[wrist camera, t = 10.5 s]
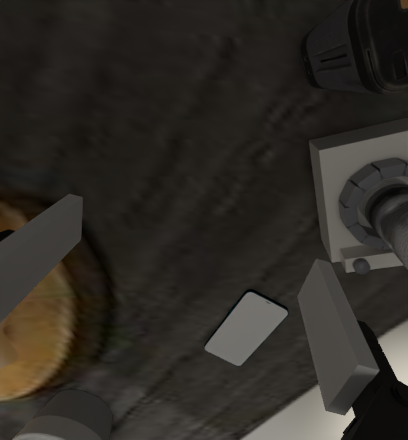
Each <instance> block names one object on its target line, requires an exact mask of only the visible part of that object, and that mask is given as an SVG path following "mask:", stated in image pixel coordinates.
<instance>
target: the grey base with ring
mask: <svg viewBox="0 0 408 440" xmlns="http://www.w3.org/2000/svg"><path fill="white" fill-rule="evenodd" d="M309 147H310V155H311V162H312V170H313V178H314V186H315V193H316V201H317V209H318V217H319V224H320V232H321V239H322V242H323V244H324V246H325V248H326V250H327V253H328V255H329V257H330V259H331V261H332V262H339V261H341V263H342V265H343V267H344V269H345V271H346V273H348V272H355V271H356V273H358V274H365V273H367V272H369V270H370V269H378V268H385V267H393V266H401V265H403V264H402V262H401V261H400V260H399V259H398V257H397V256H396V255H395V254H394V253H393V251H392V250H391V249H390V248H389V247H388V245H387V244H386V243H385V242H384V240H383V239H382V238H381V237H380V236H379V235H378V234H377V233H376V232H375V230H374V229H373V228H372V227H371V226H370V224H369V223H368V222H367V220H366V219H365V217H364V216H363V215H362V214H361V212H360V210H359V207H358V205H359V203H360V202H361V200H362V198H363V196H364V194H365V192H366V191H368V190H369V189H370V188H372V187H373V186H375V185H376V184H377V183H379V182H380V181H382V180H384V179H389V178H397V179H400V180H402V181H403V182H405V183H406V184H408V117H407V118H403V119H399V120H394V121H390V122H386V123H382V124H377V125H373V126H369V127H364V128H360V129H356V130H352V131H347V132H343V133H339V134H334V135H330V136H326V137H322V138H317V139H313V140H309Z"/></svg>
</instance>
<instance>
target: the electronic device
mask: <svg viewBox="0 0 408 440" xmlns="http://www.w3.org/2000/svg"><path fill="white" fill-rule="evenodd" d="M300 57H301V60H302V63H303V67H304V70H305V73H306V77H307V79H308V82H309V83H310V84H311V85H312V86H313V87H316V88H322V89H332V90H342V91H353V92H364V93H373V94H384V95H399V94H404V93H407V92H408V0H348V1H347V2H346V3H344V4H343V5H342V6H341V7H339V8H338V9H337V10H336V11H335V12H333V13H332V14H331V15H330V16H328V17H327V18H326V19H325V20H324V21H322V22H321V23H320V24H319V25H317V26H316V27H315V28H314V29H313V30H311V31H310V32H309V33H308V34H307V35H306V36H305V37H304V38H303V39H302V41H301V44H300Z"/></svg>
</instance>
